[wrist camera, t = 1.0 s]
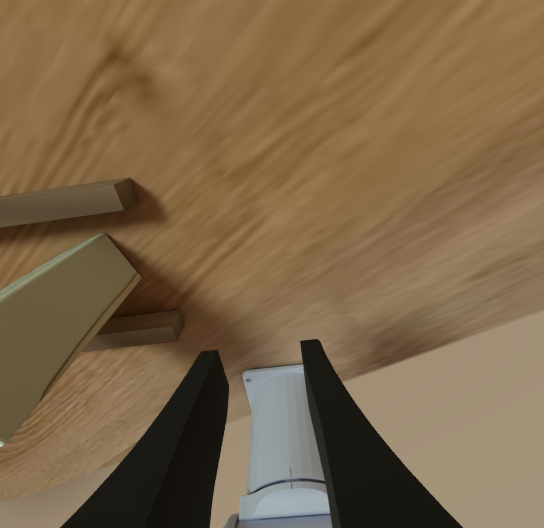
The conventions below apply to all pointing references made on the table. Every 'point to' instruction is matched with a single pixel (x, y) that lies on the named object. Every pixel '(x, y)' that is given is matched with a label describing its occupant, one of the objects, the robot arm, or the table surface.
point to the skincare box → (55, 322)
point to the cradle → (82, 204)
